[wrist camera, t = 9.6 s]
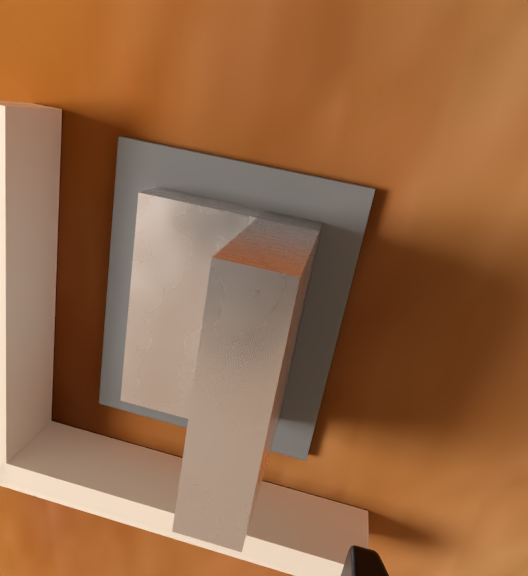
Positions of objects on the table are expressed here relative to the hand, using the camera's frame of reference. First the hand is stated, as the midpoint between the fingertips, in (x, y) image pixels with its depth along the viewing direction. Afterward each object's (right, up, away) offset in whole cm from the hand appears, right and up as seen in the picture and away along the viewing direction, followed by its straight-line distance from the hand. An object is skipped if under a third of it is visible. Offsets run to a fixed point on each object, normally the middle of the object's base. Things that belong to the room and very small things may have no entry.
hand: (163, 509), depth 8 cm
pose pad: (0, +3, +11) cm, 11 cm away
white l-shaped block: (0, +2, +11) cm, 11 cm away
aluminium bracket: (0, +3, +10) cm, 11 cm away
